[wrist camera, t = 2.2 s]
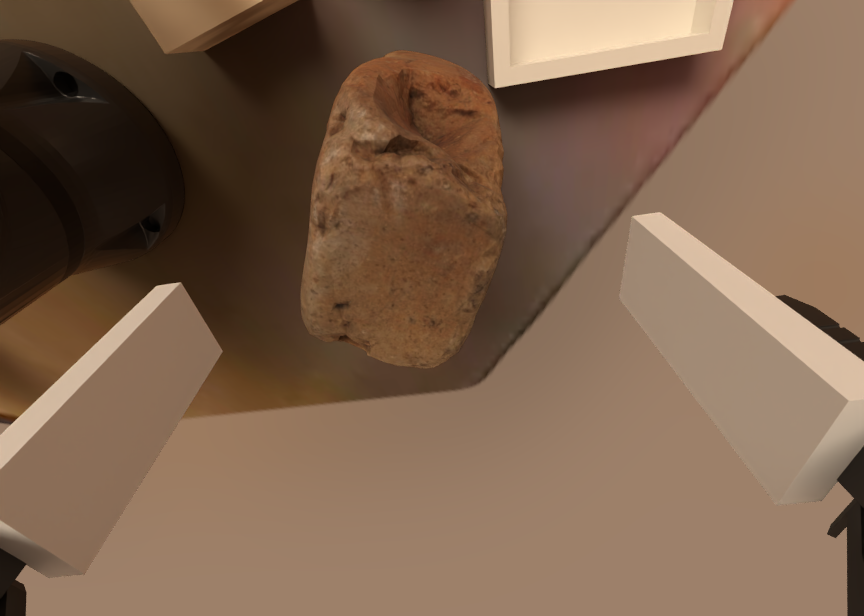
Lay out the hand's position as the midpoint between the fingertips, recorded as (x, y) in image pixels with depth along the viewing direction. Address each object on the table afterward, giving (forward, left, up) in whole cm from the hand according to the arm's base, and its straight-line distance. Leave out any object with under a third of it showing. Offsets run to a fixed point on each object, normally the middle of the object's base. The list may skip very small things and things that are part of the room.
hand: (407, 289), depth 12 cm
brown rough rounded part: (0, 0, -21) cm, 21 cm away
